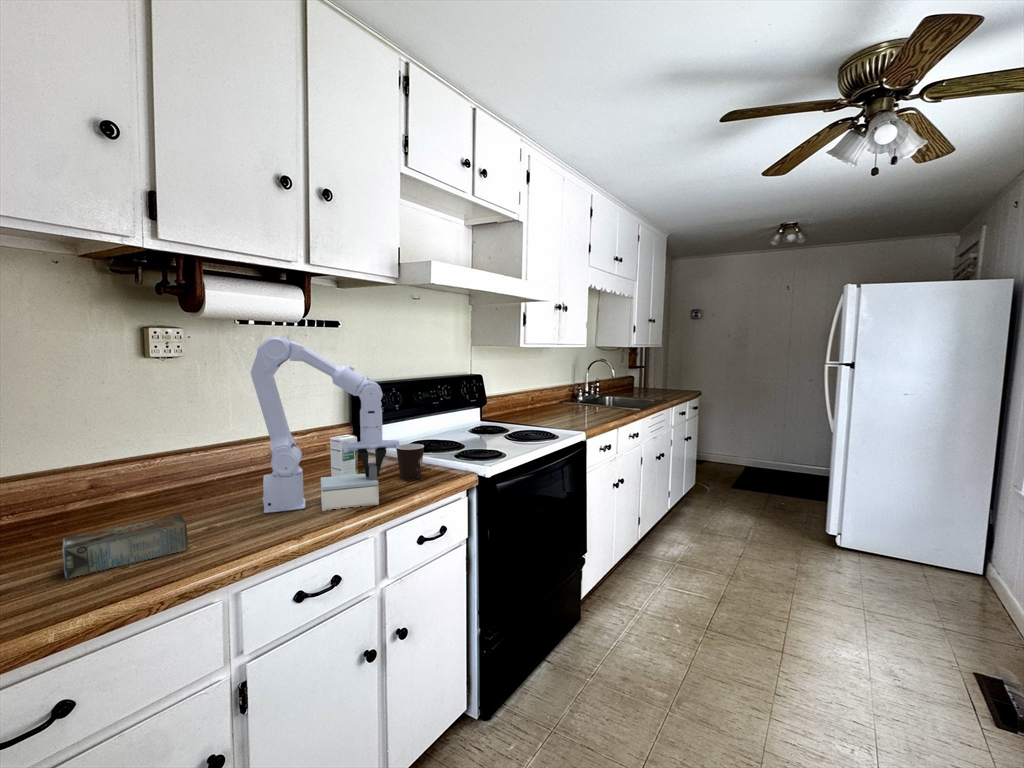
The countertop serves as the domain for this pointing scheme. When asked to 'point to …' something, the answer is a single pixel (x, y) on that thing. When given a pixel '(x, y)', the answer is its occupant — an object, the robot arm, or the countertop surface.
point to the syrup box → (343, 456)
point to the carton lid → (351, 480)
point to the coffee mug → (410, 460)
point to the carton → (349, 497)
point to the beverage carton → (124, 545)
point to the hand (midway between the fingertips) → (372, 475)
